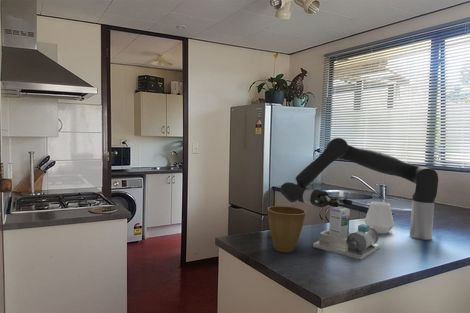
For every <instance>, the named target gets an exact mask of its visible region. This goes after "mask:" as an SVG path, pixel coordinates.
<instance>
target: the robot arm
mask: <svg viewBox="0 0 470 313" xmlns="http://www.w3.org/2000/svg"><path fill="white" fill-rule="evenodd" d="M337 159H340V160H344V161H348V162H351V163H354V164H357V165H359V166H362V167H364V168H366V169H368V170H369V169H370V170H371V171H374V172H378V173H381V174H385V175H389V176H395V177H399V178H402V179H405V180H407V181H410V182H411V183H413V184H415V190H414V193H412V197H411V198H412V200H411V212H410V213H411V214H410V226H409V236H410V237H411V238H413V239H418V240H423V241H424V240H425V241H431V240H432V238H433V228H434V213H435V212H434V211H435V201H436V197H437V195H438V187H439V186H438V185H439V176H438V173H437V171H436V170H435V169H434V168H431V167H427V166H421V165H416V164H411V163H407V162H404V161H402V160H400V159H398V158H397V157H394V156H392V155H390V154H387V153H384V152H381V151H377V150H373V149H367V148H366V149H365V148H360V147H359V148H358V147H356V146H353V145H350V144H348V141H346V140H345V139H344V138H342V137H335V138H333V139H331V140H330V141H329V142H328V143H327V144H326V148H325V149H324V150H323V152H321V154H320V155H319V156H318V157H317V158H316V159H315V160H313V161H312V162H311V163H310V164H308V165H307V166H306V167H304V169H302V170H301V171H300V172H299V174H297V175H296V177H295V181H296V183H297V184H296V183H294V182H285V183H282V185H281V186H280V187H279V189H280V194H281V195H282V196H283V197H284V199H286V200H287V201H288V202H289V203H295V202H300V203H303V204H306V205H309V206H312V207H313V206H314V207H316V208H325V207H332V208H333V207H340V205H346V206H350V207H351V206H353V200H351V199H348V197H343V196H339V195H329V194H328V192H327V191H325V190H321V189H317V188H310V187H308V186H309V185H310V184H312V182H314V180H315V179H317V177H318V176H320V174H321V173H322V172H324V170H325V169H326V168H327V167H328V166H330V165H331V164H332V163H333V162H335V161H336V160H337Z"/></svg>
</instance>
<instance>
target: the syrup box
mask: <svg viewBox="0 0 470 313" xmlns="http://www.w3.org/2000/svg"><path fill="white" fill-rule="evenodd" d="M329 210H330V211H329V229H328V230H329V235H331V236H335V237H340V238H344V239H347V238H348V236H349V232H350V216H351V215H350V211H351V210H350V208H348V207H345V206H339V207H333V206H332V207H330V208H329Z"/></svg>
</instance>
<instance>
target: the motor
mask: <svg viewBox="0 0 470 313" xmlns="http://www.w3.org/2000/svg"><path fill="white" fill-rule="evenodd" d="M378 240H379V233H377V231H376V230H375V229H373V228H371V227H369V225H366V224H364V223H361V224H359V225H358V226H357V231H356V232H351V231H349V236H348V238H347V239H344V238H340V237H335V236H331V235H329V229H326V230H324V231H321V232H319V240H318V241H315V242H312V247H313V248H314V249H315V248H316V249H319V250H323V251H328V252H331V253H335V254H338V255H343V256H346V257H348V258H349V257H350V258H352V259H353V258H354V259H356V260H363V259H365V258H366V257H368V256H369V255H371V254H373V253H374V252H376V251H378V250H379V249H380V246H381V245H380V244H379V243H377V242H378Z"/></svg>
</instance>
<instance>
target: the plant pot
mask: <svg viewBox="0 0 470 313" xmlns="http://www.w3.org/2000/svg"><path fill="white" fill-rule="evenodd" d="M306 214H307V212H306V210H304V209H302V208H299V207H293V206H284V205H283V206H281V205H276V206H275V205H273V206H269V207H267V219H268V227H269V232H270V236H271V237H270V238H271V240H272V245H273V248H274V250H275V251H277V252H281V253H286V254H287V253H293V251H294V250H295V247H296V246H297V243H298V241H299V238H300V236H301V232H302V230H303V226H304V224H305V218H306Z"/></svg>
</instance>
